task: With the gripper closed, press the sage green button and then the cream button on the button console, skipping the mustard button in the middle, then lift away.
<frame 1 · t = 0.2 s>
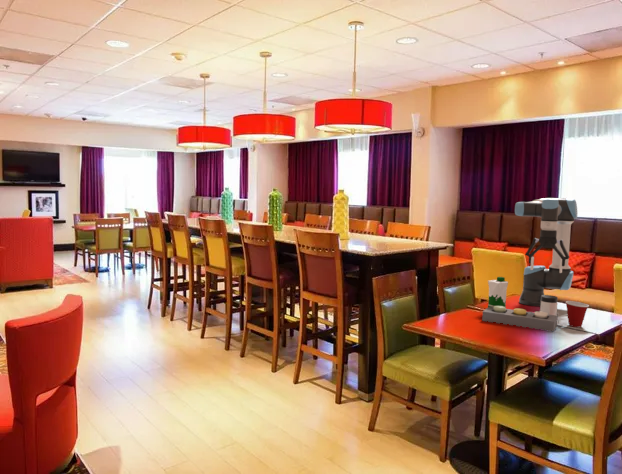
hand: (546, 271, 253), 28 cm above the table, tool pointing down, fingers open, 13 cm apart
mustard button: (519, 311, 257), point 6 cm above the table, slide at 0.0 cm
milk carton: (496, 313, 279), on the table
sage button: (499, 308, 263), point 6 cm above the table, slide at 0.0 cm
jar: (547, 318, 269), on the table
cream button: (540, 314, 252), point 6 cm above the table, slide at 0.0 cm
console: (519, 323, 258), on the table
plastic cup: (575, 326, 254), on the table
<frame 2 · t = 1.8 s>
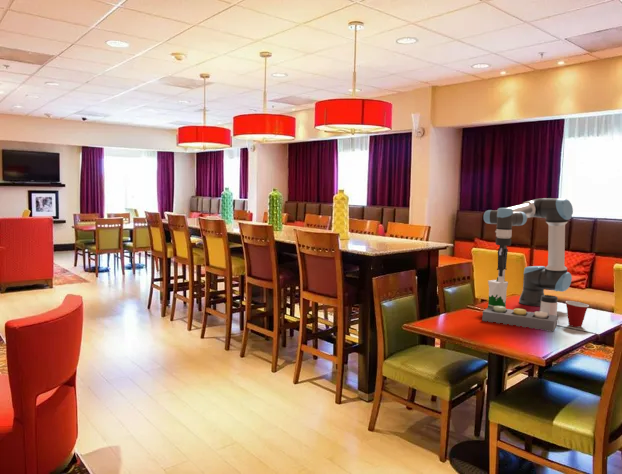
hand: (501, 282, 261), 20 cm above the table, tool pointing down, fingers closed
nothing on the table moved.
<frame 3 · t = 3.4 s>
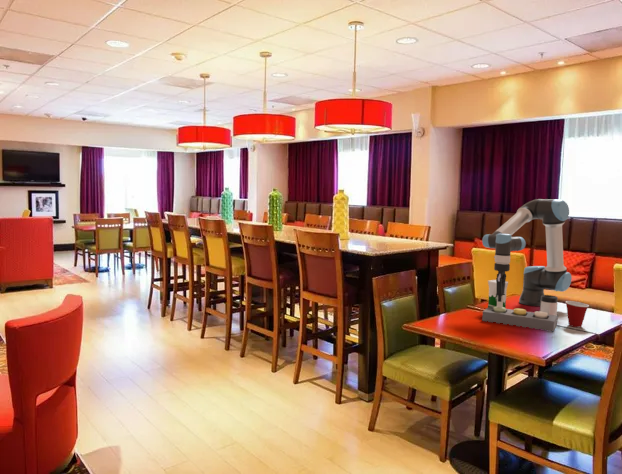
hand: (499, 307, 262), 7 cm above the table, tool pointing down, fingers closed
sage button: (499, 309, 263), point 6 cm above the table, slide at 0.4 cm, touching gripper
everything else where it was.
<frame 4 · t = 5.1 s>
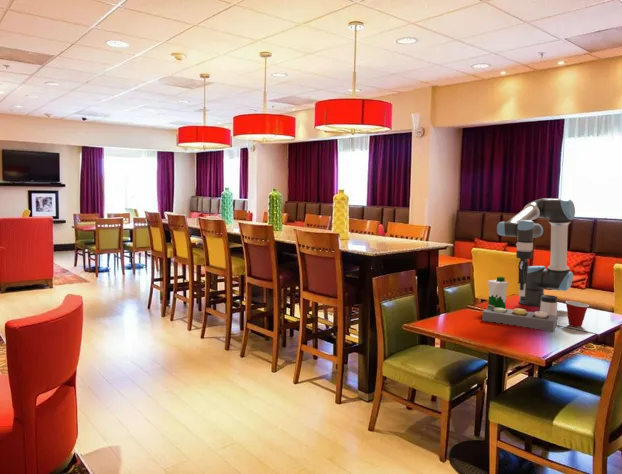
hand: (521, 295, 256), 14 cm above the table, tool pointing down, fingers closed
sage button: (499, 310, 263), point 5 cm above the table, slide at 1.0 cm
everything else where it was.
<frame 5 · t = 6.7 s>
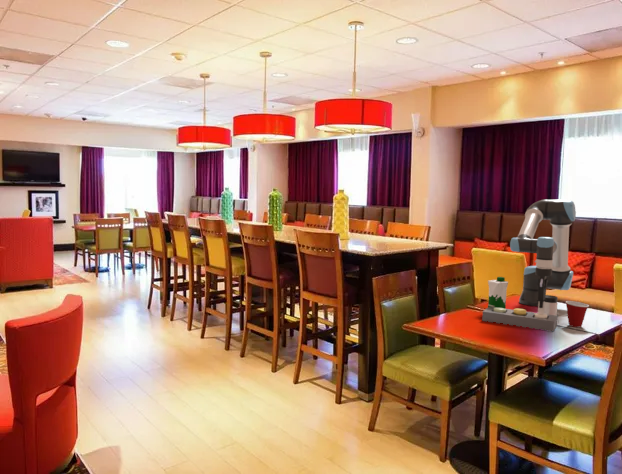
hand: (540, 313, 252), 6 cm above the table, tool pointing down, fingers closed
cream button: (540, 316, 252), point 5 cm above the table, slide at 0.8 cm, touching gripper
everything else where it was.
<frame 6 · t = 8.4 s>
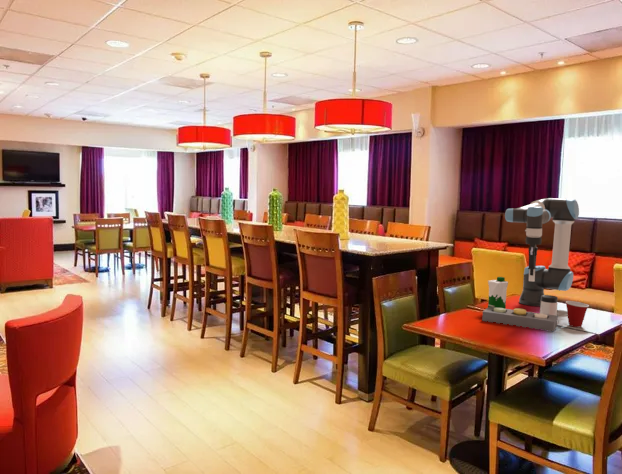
hand: (531, 281, 260), 21 cm above the table, tool pointing down, fingers closed
cream button: (540, 316, 252), point 5 cm above the table, slide at 1.0 cm
everything else where it was.
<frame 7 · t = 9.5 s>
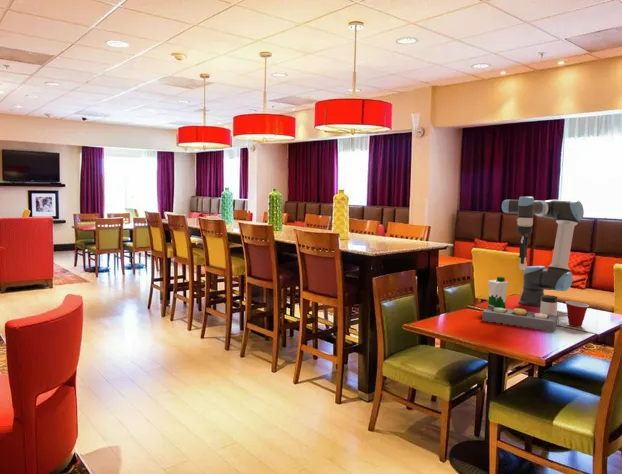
hand: (522, 269, 266), 26 cm above the table, tool pointing down, fingers closed
nothing on the table moved.
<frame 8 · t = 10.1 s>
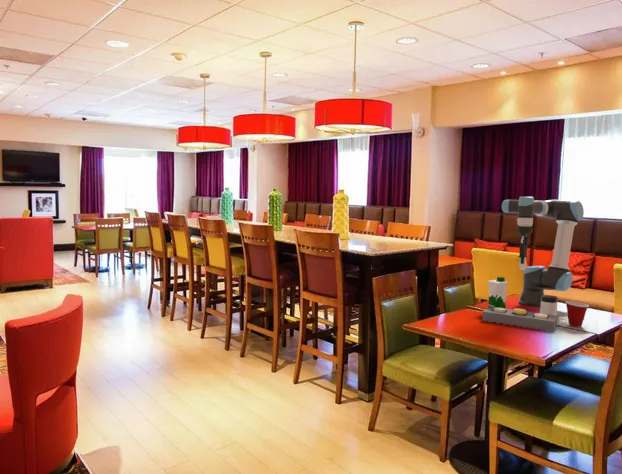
hand: (522, 269, 266), 26 cm above the table, tool pointing down, fingers closed
nothing on the table moved.
at the end: sage button slide at 1.0 cm; cream button slide at 1.0 cm; mustard button slide at 0.0 cm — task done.
